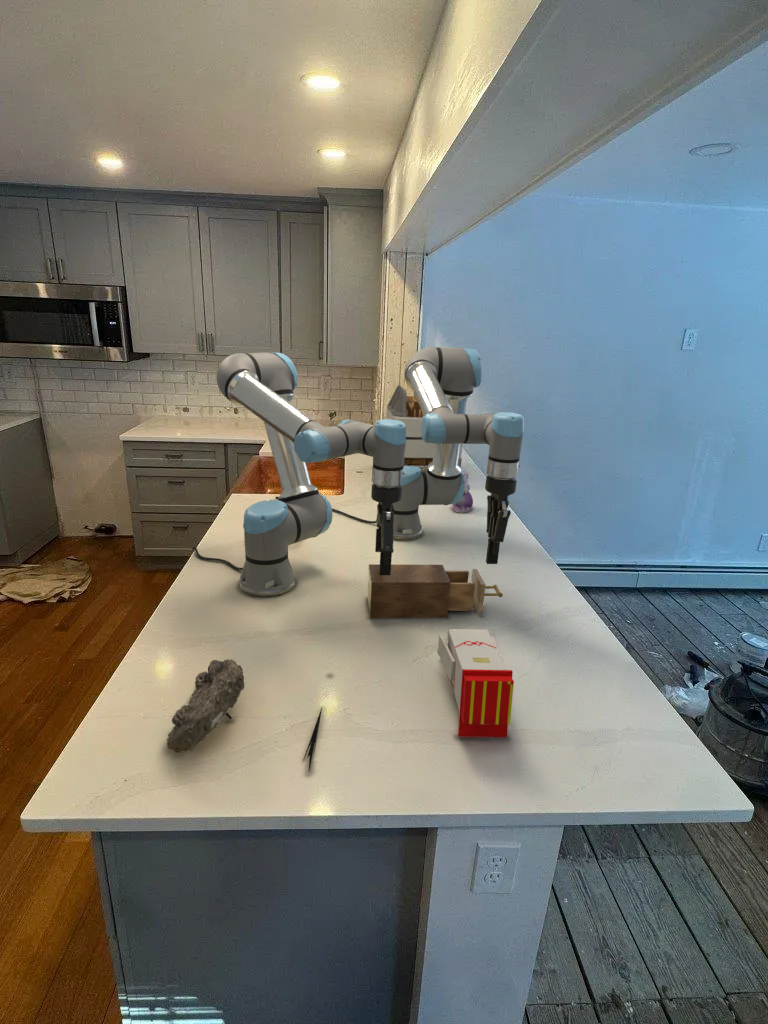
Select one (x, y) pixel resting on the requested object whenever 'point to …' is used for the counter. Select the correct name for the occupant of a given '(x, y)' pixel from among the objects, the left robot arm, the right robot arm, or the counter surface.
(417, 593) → the cabinet
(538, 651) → the counter surface
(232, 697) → the fossil
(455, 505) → the figurine
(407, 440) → the transformer
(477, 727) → the white and red box
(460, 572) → the drawer
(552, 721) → the counter surface
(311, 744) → the feather
